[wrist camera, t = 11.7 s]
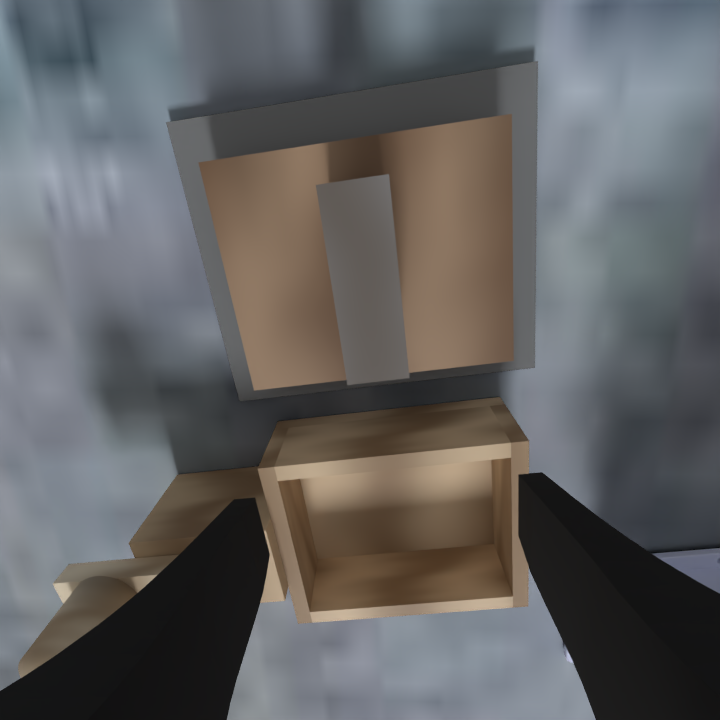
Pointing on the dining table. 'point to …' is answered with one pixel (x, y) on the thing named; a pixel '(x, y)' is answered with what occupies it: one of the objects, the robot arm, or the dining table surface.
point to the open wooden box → (374, 511)
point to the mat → (359, 119)
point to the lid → (370, 253)
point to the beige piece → (90, 601)
